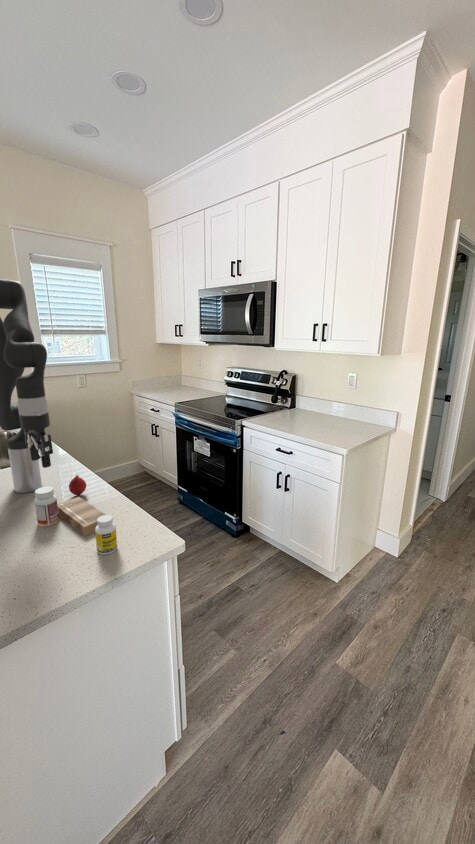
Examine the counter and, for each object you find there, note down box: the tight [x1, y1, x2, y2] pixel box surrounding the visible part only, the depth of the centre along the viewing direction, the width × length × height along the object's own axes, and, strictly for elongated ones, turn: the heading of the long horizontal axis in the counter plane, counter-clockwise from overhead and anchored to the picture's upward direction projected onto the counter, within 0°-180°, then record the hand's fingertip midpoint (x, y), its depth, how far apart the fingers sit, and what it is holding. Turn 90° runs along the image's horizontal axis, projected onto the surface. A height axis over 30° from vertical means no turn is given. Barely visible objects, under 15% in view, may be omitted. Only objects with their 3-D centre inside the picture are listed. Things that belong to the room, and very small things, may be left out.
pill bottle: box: [34, 486, 60, 527], centre depth 111 cm, size 6×6×11 cm
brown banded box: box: [57, 496, 106, 537], centre depth 114 cm, size 20×8×3 cm, turn 49°
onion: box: [68, 474, 87, 497], centre depth 129 cm, size 6×6×8 cm
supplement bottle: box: [94, 514, 118, 556], centre depth 98 cm, size 5×5×10 cm
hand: (41, 463), depth 107 cm, fingers open, 8 cm apart
